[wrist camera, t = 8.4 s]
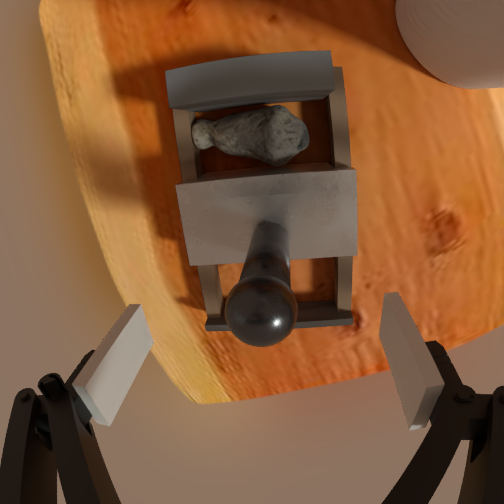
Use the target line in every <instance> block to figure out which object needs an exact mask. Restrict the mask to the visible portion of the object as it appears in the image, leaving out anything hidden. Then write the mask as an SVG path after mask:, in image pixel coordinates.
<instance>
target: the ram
mask: <svg viewBox="0 0 504 504" xmlns="http://www.w3.org/2000/svg"><path fill="white" fill-rule="evenodd" d="M175 186H176V192H177V198H178V204H179V210H180V215H181V221H182V226H183V232H184V237H185V243H186V248H187V253H188V258H189V263H190V266H196V265H214V264H231V263H244V266H243V269H242V273H241V276H240V280H239V282H238V283H237V284H236V285H235V286H234V287H233V289H232V290H231V291H230V293H229V295H228V297H227V300H226V304H225V318H226V322H227V324H228V327H229V328H230V330H231V332H232V333H233V334H234V335H235V336H236V337H237V338H238V339H239V340H241V341H242V342H244V343H246V344H248V345H251V346H256V347H267V346H271V345H274V344H277V343H279V342H280V341H282V340H283V339H285V338H286V337H287V336H288V335H289V334H290V332H291V331H292V330H293V328H294V326H295V323H296V321H297V316H298V305H297V300H296V297H295V295H294V293H293V291H292V290H291V285H290V260H295V259H311V258H326V257H341V256H355V255H357V182H356V169H354V168H353V167H339V168H334V167H333V166H331V165H330V164H329V163H328V162H316V163H299V164H285V165H284V166H261V167H250V168H240V169H231V170H222V171H214V172H207V173H205V174H203V175H202V176H200V177H198V178H197V179H195V180H190V181H182V182H180V183H178V184H176V185H175Z"/></svg>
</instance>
